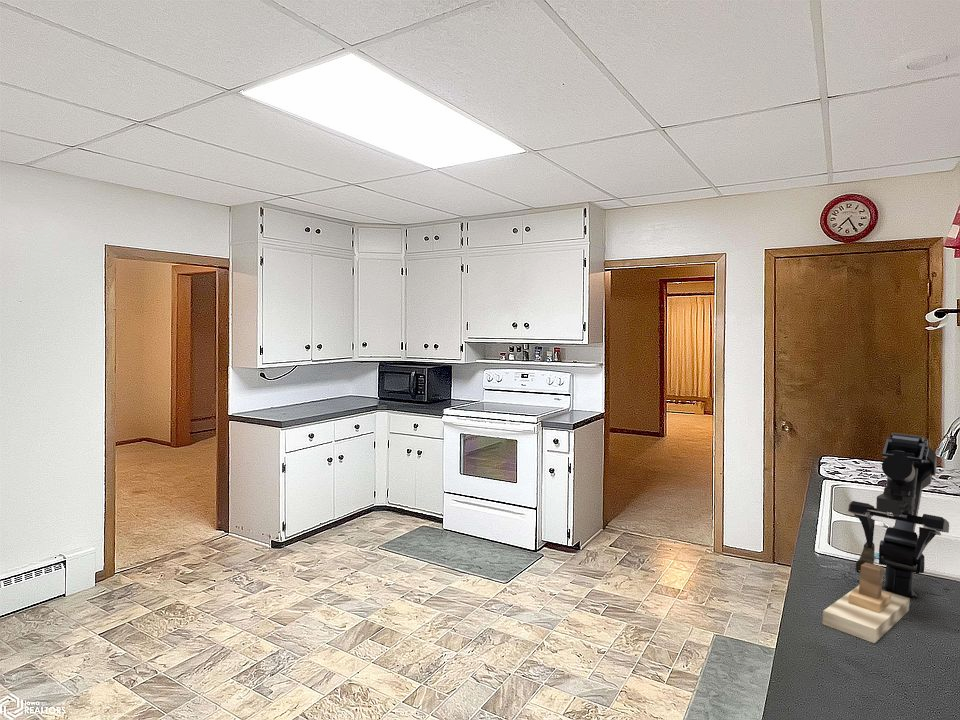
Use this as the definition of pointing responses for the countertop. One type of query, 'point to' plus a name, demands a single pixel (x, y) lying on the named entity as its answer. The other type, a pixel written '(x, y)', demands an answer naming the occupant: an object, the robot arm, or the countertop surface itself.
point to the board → (865, 617)
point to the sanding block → (870, 589)
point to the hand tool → (866, 556)
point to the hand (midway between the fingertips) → (892, 553)
